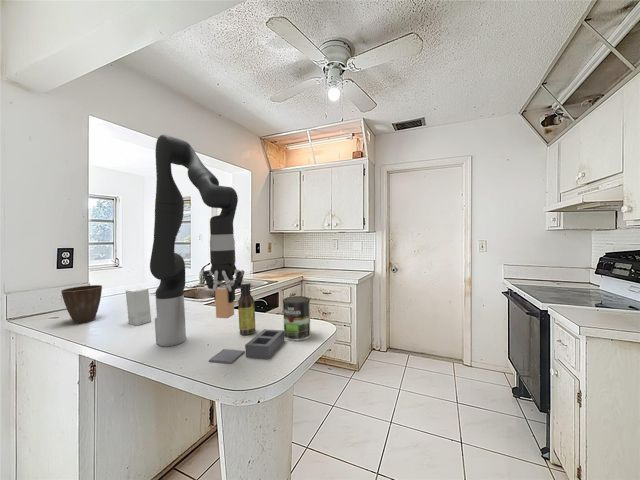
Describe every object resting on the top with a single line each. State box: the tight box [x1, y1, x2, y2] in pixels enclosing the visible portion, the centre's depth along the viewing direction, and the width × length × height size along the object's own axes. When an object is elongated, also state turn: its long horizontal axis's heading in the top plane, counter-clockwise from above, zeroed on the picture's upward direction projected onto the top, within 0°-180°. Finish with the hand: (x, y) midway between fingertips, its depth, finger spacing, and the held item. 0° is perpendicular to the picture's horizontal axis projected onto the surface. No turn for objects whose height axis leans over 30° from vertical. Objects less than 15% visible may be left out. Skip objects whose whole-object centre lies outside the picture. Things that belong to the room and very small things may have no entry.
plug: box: [214, 284, 235, 319], centre depth 90 cm, size 4×4×10 cm
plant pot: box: [60, 284, 103, 324], centre depth 134 cm, size 15×15×16 cm
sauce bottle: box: [237, 282, 256, 336], centre depth 112 cm, size 6×6×20 cm
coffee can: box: [282, 295, 312, 342], centre depth 107 cm, size 10×10×14 cm
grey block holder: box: [244, 328, 286, 360], centre depth 96 cm, size 8×14×4 cm, turn 166°
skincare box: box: [125, 287, 152, 326], centre depth 129 cm, size 8×7×16 cm
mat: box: [208, 348, 246, 365], centre depth 91 cm, size 8×8×1 cm
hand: (224, 301), depth 90 cm, fingers closed on plug, 4 cm apart
